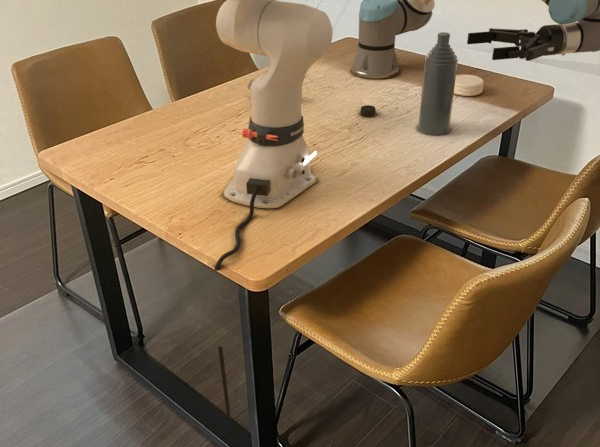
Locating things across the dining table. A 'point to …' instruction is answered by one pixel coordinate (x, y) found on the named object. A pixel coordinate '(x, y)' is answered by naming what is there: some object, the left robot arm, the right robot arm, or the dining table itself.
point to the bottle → (438, 88)
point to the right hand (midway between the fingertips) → (480, 46)
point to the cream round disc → (468, 85)
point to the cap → (367, 111)
